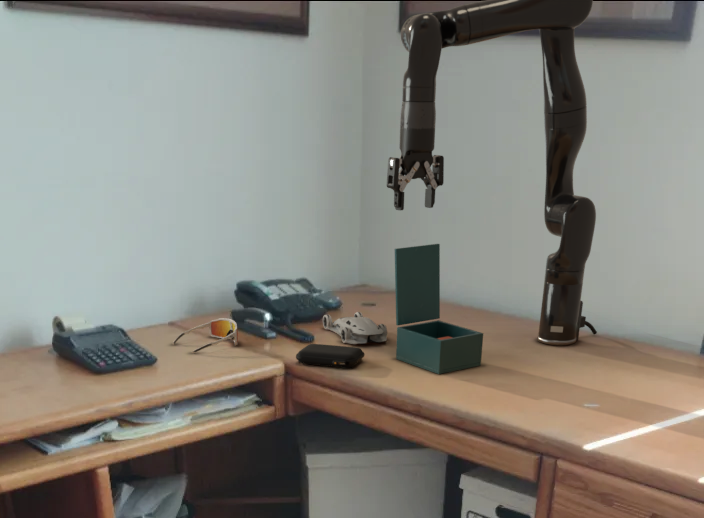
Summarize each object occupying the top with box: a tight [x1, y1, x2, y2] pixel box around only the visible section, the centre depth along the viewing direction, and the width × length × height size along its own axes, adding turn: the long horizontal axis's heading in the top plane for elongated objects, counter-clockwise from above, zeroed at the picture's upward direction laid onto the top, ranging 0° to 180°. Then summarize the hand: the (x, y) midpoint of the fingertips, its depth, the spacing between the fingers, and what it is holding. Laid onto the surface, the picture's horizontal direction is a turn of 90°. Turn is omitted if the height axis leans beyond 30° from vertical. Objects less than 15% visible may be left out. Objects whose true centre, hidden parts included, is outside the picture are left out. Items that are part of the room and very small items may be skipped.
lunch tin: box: [395, 319, 484, 375], centre depth 216 cm, size 16×13×7 cm
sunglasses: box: [172, 317, 239, 354], centre depth 231 cm, size 14×15×5 cm
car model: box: [322, 311, 388, 345], centre depth 238 cm, size 11×24×5 cm, turn 21°
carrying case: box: [295, 343, 366, 369], centre depth 217 cm, size 11×3×15 cm
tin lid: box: [394, 243, 441, 326], centre depth 217 cm, size 16×13×5 cm
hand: (414, 208), depth 209 cm, fingers open, 8 cm apart
